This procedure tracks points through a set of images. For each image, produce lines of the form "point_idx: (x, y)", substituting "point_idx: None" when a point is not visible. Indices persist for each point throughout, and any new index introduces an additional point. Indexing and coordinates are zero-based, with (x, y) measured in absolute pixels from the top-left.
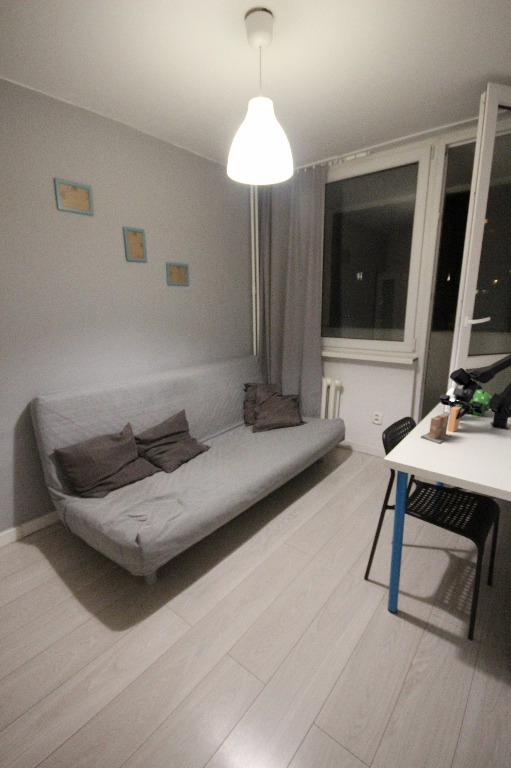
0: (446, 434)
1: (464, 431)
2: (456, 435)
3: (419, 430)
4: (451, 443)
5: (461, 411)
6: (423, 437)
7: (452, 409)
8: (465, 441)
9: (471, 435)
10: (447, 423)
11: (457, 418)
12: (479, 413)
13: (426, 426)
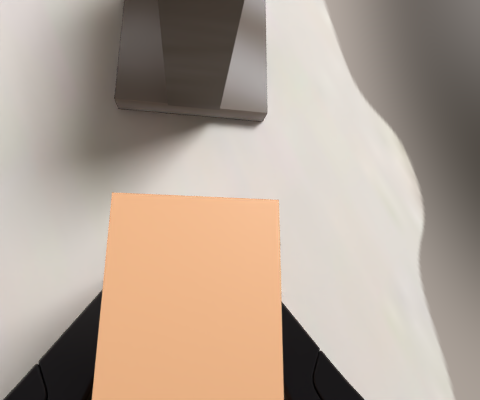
0: (161, 102)
1: None
2: None
3: (344, 89)
4: (77, 10)
5: (39, 389)
6: None
7: (226, 203)
8: (4, 124)
9: (5, 327)
10: (161, 32)
11: None
12: None
13: (366, 211)
